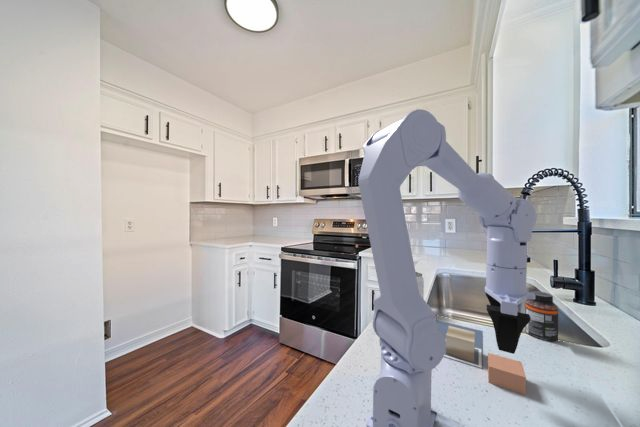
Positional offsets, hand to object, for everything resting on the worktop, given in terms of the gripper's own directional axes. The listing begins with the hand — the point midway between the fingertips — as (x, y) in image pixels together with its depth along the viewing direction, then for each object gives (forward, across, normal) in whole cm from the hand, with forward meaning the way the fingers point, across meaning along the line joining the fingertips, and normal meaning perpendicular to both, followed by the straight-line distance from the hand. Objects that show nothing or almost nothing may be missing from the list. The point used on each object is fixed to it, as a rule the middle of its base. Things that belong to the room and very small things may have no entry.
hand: (504, 340), depth 43 cm
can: (+8, +23, +21) cm, 32 cm away
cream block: (+7, +5, +7) cm, 11 cm away
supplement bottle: (+8, +25, -9) cm, 28 cm away
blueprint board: (+8, +10, +10) cm, 16 cm away
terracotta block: (+8, 0, 0) cm, 8 cm away
